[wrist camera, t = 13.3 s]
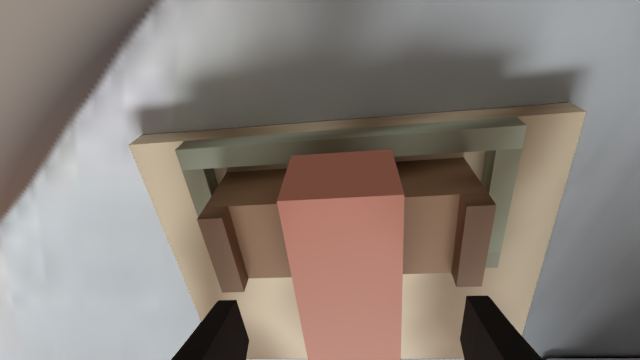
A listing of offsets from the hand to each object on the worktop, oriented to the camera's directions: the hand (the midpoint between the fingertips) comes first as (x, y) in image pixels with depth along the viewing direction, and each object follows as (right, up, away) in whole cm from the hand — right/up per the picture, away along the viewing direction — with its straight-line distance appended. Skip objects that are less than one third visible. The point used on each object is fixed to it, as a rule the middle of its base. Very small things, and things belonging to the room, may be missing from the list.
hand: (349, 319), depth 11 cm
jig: (+1, 0, +9) cm, 9 cm away
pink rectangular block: (0, +2, +3) cm, 4 cm away
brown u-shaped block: (0, +3, +6) cm, 7 cm away
